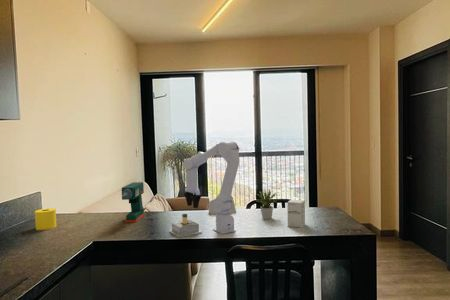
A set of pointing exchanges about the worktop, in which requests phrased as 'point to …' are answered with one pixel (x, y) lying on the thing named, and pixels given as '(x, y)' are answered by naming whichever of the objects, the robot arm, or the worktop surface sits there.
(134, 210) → the power tool
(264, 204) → the house plant
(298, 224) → the supplement box
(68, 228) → the worktop surface
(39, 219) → the yellow holed block
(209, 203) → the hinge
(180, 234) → the chuck block
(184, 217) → the brass cylinder rod
